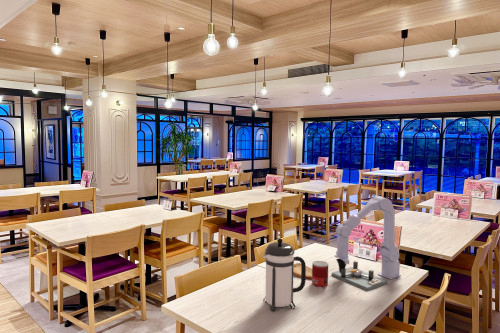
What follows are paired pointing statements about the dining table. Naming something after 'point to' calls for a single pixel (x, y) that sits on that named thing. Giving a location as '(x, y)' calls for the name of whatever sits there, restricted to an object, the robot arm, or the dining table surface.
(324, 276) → the canned food
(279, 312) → the dining table surface
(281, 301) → the coffee press
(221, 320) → the dining table surface
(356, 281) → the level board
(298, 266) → the slice of bread
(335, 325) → the dining table surface
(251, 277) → the dining table surface
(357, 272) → the capstan
